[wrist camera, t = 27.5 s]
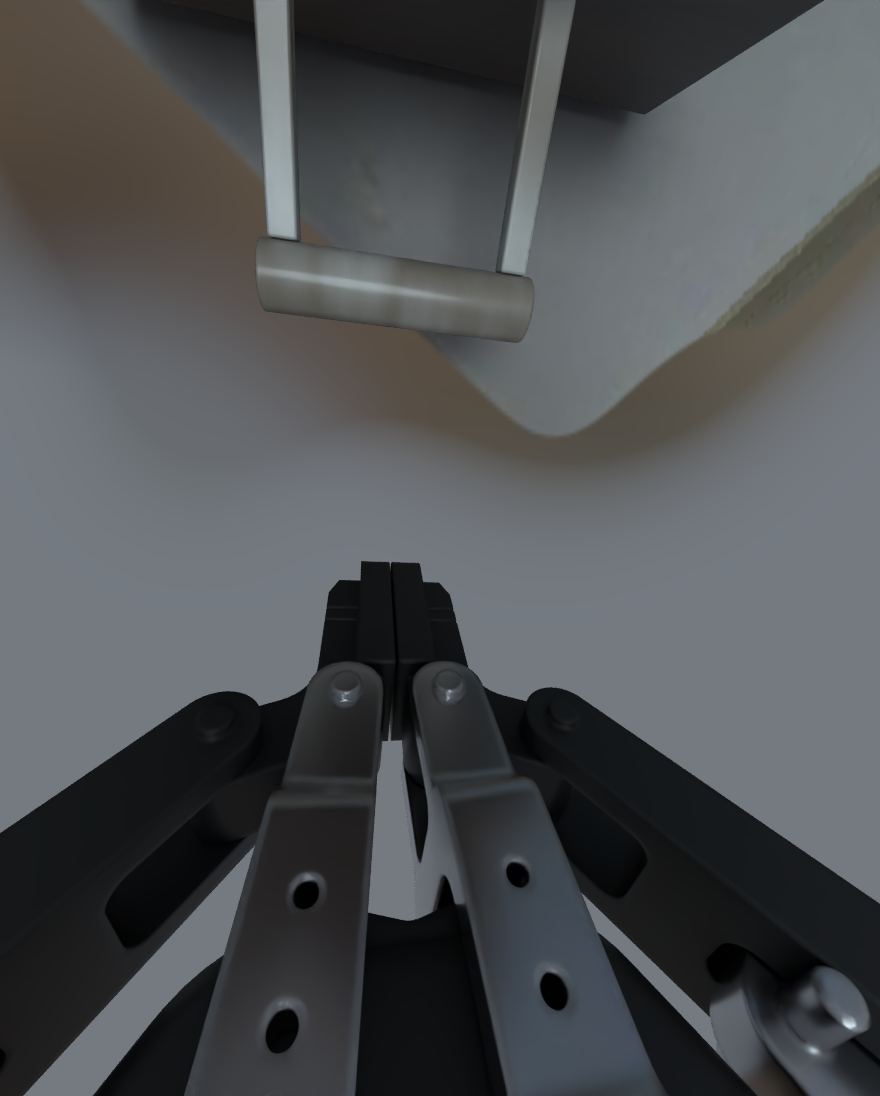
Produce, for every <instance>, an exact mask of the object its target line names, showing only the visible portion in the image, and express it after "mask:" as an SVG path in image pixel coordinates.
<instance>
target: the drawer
mask: <svg viewBox="0 0 880 1096" xmlns="http://www.w3.org/2000/svg"><path fill="white" fill-rule="evenodd" d="M160 1H164V2H168V3H173V4H177V5H181V6H185V7H190V8H194V9H198V10H202V11H207V12H211V13H215V14H219V15H224V16H228V17H232V18H236V19H241V20H245V21H249V22H253V23H254V24H255V41H256V57H257V74H258V90H259V107H260V123H261V140H262V156H263V173H264V189H265V205H266V222H267V233H268V236H270V237H272V238H269V237H263V236H261V237H259V238H258V240H257V244H256V251H255V273H256V283H257V290H258V295H259V299H260V303H261V305H262V308H263V309H264V310H265V311H267V312H275V313H283V314H291V315H299V316H307V317H315V318H323V319H331V320H339V321H347V322H355V323H362V324H370V325H378V326H386V327H394V328H402V329H410V330H418V331H426V332H434V333H442V334H450V335H458V336H466V337H474V338H482V339H490V340H498V341H506V342H514V343H518V342H520V341H521V340H522V339H523V337H524V336H525V334H526V331H527V329H528V326H529V323H530V320H531V316H532V311H533V304H534V285H533V281H532V279H530V278H529V277H522V276H523V275H525V273H526V268H527V263H528V257H529V252H530V246H531V241H532V236H533V230H534V225H535V219H536V214H537V209H538V203H539V198H540V192H541V187H542V182H543V176H544V171H545V165H546V160H547V155H548V149H549V144H550V138H551V133H552V128H553V122H554V117H555V111H556V106H557V100H558V95H563V96H568V97H572V98H576V99H580V100H585V101H589V102H593V103H597V104H602V105H606V106H610V107H614V108H619V109H623V110H627V111H631V112H636V113H640V114H647V113H648V112H650V111H651V110H653V109H654V108H656V107H657V106H659V105H661V104H662V103H664V102H665V101H667V100H668V99H670V98H672V97H673V96H675V95H676V94H678V93H679V92H681V91H683V90H684V89H686V88H687V87H689V86H690V85H692V84H694V83H695V82H697V81H698V80H700V79H701V78H703V77H705V76H706V75H708V74H709V73H711V72H712V71H714V70H716V69H717V68H719V67H720V66H722V65H723V64H725V63H727V62H728V61H730V60H731V59H733V58H734V57H736V56H738V55H739V54H741V53H742V52H744V51H745V50H747V49H748V48H750V47H752V46H753V45H755V44H756V43H758V42H759V41H761V40H763V39H764V38H766V37H767V36H769V35H770V34H772V33H774V32H775V31H777V30H778V29H780V28H781V27H783V26H785V25H786V24H788V23H789V22H791V21H792V20H794V19H796V18H797V17H799V16H800V15H802V14H803V13H805V12H807V11H808V10H810V9H811V8H813V7H814V6H816V5H818V4H819V3H821V2H822V1H824V0H160ZM294 32H296V33H300V34H304V35H309V36H313V37H317V38H321V39H326V40H330V41H334V42H338V43H343V44H347V45H351V46H355V47H360V48H364V49H368V50H372V51H377V52H381V53H385V54H389V55H394V56H398V57H402V58H406V59H410V60H415V61H419V62H423V63H427V64H432V65H436V66H440V67H444V68H449V69H453V70H457V71H461V72H466V73H470V74H474V75H478V76H483V77H487V78H491V79H495V80H500V81H504V82H508V83H512V84H517V85H521V86H524V90H523V97H522V103H521V110H520V116H519V122H518V129H517V135H516V142H515V148H514V155H513V161H512V167H511V174H510V180H509V187H508V193H507V199H506V206H505V212H504V219H503V225H502V232H501V238H500V244H499V251H498V257H497V264H496V272H490V271H484V270H477V269H471V268H464V267H458V266H451V265H445V264H438V263H432V262H425V261H419V260H412V259H406V258H399V257H393V256H386V255H380V254H373V253H367V252H360V251H354V250H347V249H341V248H334V247H328V246H321V245H315V244H308V243H302V242H300V240H301V236H300V201H299V168H298V134H297V100H296V67H295V33H294Z"/></svg>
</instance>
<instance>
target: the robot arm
mask: <svg viewBox="0 0 880 1096" xmlns="http://www.w3.org/2000/svg"><path fill="white" fill-rule="evenodd" d="M389 724H390V728H391V729H390V730H391V740H392V741H393V740H402V746H403V763H402V771H401V778H402V785H403V793H404V800H405V807H406V814H407V822H408V829H409V836H410V843H411V850H412V858H413V865H414V875H415V909H416V919H415V920H411V921H404V920H399V919H395V918H390V917H386V916H381V915H376V914H372V913H368V902H369V889H370V874H371V860H372V847H373V832H374V817H375V804H376V785H377V773H378V771H379V768H380V760H381V750H382V741H388V734H389ZM254 846H255V847H254ZM253 847H254V851H253V855H252V858H251V862H250V865H249V869H248V872H247V876H246V879H245V883H244V886H243V890H242V893H241V897H240V900H239V904H238V907H237V911H236V914H235V918H234V921H233V925H232V928H231V932H230V935H229V939H228V942H227V946H226V950H225V953H224V955H223V956H222V957H220V958H219V959H217V960H216V961H215V962H213V963H212V964H210V965H209V966H208V967H206V968H205V969H204V970H203V971H201V972H200V973H199V974H198V975H197V976H196V977H195V978H193V979H192V980H191V981H190V982H189V983H188V984H187V985H185V986H184V987H183V988H182V989H181V990H180V991H179V992H178V994H177V995H176V996H175V997H174V998H173V999H172V1000H171V1001H170V1002H169V1003H168V1004H167V1005H166V1006H165V1007H164V1008H163V1009H162V1011H161V1012H160V1013H159V1014H158V1015H157V1017H156V1018H155V1019H154V1020H153V1021H152V1022H151V1024H150V1025H149V1026H148V1028H147V1029H146V1030H145V1031H144V1032H143V1034H142V1035H141V1036H140V1038H139V1039H138V1040H137V1041H136V1042H135V1044H134V1045H133V1046H132V1047H131V1049H130V1050H129V1051H128V1052H127V1054H126V1055H125V1056H124V1057H123V1059H122V1060H121V1061H120V1062H119V1064H118V1065H117V1066H116V1067H115V1069H114V1070H113V1071H112V1072H111V1074H110V1075H109V1076H108V1078H107V1079H106V1080H105V1081H104V1082H103V1084H102V1085H101V1086H100V1087H99V1089H98V1090H97V1091H96V1093H95V1094H94V1095H93V1096H880V904H879V903H878V902H876V901H875V900H873V899H872V898H870V897H869V896H868V895H866V894H865V893H863V892H862V891H860V890H859V889H858V888H856V887H854V886H853V885H852V884H850V883H849V882H847V881H846V880H844V879H843V878H842V877H840V876H838V875H837V874H836V873H834V872H833V871H831V870H830V869H829V868H827V867H825V866H824V865H823V864H821V863H820V862H818V861H817V860H815V859H814V858H813V857H811V856H810V855H808V854H807V853H805V852H804V851H802V850H801V849H799V848H798V847H796V846H795V845H794V844H792V843H791V842H789V841H788V840H786V839H785V838H783V837H782V836H780V835H779V834H778V833H776V832H775V831H773V830H772V829H770V828H769V827H768V826H766V825H765V824H763V823H762V822H760V821H759V820H757V819H756V818H754V817H753V816H752V815H750V814H749V813H747V812H746V811H744V810H743V809H741V808H740V807H739V806H737V805H736V804H734V803H733V802H731V801H730V800H728V799H727V798H725V797H724V796H722V795H721V794H720V793H718V792H717V791H715V790H714V789H712V788H711V787H710V786H708V785H707V784H705V783H703V782H702V781H701V780H699V779H698V778H696V777H695V776H694V775H692V774H691V773H689V772H688V771H686V770H685V769H683V768H682V767H680V766H679V765H677V764H676V763H674V762H673V761H672V760H670V759H669V758H667V757H666V756H665V755H663V754H662V753H660V752H659V751H657V750H656V749H654V748H653V747H651V746H650V745H648V744H647V743H646V742H644V741H643V740H641V739H640V738H638V737H637V736H636V735H634V734H633V733H631V732H630V731H628V730H627V729H625V728H624V727H622V726H621V725H619V724H618V723H617V722H615V721H614V720H612V719H611V718H609V717H608V716H606V715H605V714H604V713H602V712H601V711H599V710H598V709H596V708H595V707H593V706H592V705H591V704H589V703H588V702H586V701H585V700H583V699H582V698H580V697H579V696H577V695H575V694H574V693H571V692H569V691H567V690H563V689H559V688H552V687H550V688H542V689H539V690H537V691H535V692H533V693H532V694H531V695H530V696H529V698H528V700H527V701H523V700H519V699H515V698H511V697H507V696H503V695H500V694H497V693H495V692H492V691H490V690H489V689H487V688H485V687H484V686H483V685H482V683H481V681H480V679H479V678H478V676H477V675H476V674H475V673H474V672H473V671H472V670H470V669H469V668H468V665H467V661H466V657H465V653H464V649H463V645H462V641H461V637H460V633H459V629H458V625H457V623H456V617H455V613H454V611H453V605H452V601H451V598H450V595H449V593H448V592H447V591H446V590H445V589H444V588H443V587H442V586H441V584H440V583H433V582H431V583H430V582H423V580H422V574H421V568H420V564H419V563H400V562H392V563H391V569H390V563H389V562H367V561H362V562H361V580H360V581H353V580H339V581H338V582H337V583H336V585H335V586H334V587H333V588H332V589H331V591H330V592H329V595H328V602H327V609H326V616H325V622H324V629H323V637H322V644H321V650H320V657H319V664H318V669H317V672H316V674H315V675H314V676H313V677H312V679H311V680H310V682H309V684H308V685H307V686H306V687H305V688H304V689H302V690H301V691H300V692H298V693H296V694H295V695H292V696H290V697H288V698H285V699H282V700H279V701H276V702H272V703H268V704H265V705H262V706H259V705H258V704H257V702H256V701H255V700H254V699H253V698H251V697H250V696H248V695H246V694H242V693H239V692H229V691H225V692H218V693H213V694H209V695H206V696H203V697H201V698H199V699H197V700H195V701H194V702H192V703H190V704H189V705H187V706H186V707H184V708H183V709H181V710H180V711H178V712H177V713H175V714H174V715H172V716H171V717H170V718H168V719H167V720H165V721H164V722H162V723H161V724H159V725H158V726H156V727H155V728H153V729H152V730H151V731H149V732H148V733H146V734H145V735H144V736H142V737H140V738H139V739H137V740H136V741H134V742H133V743H132V744H130V745H129V746H127V747H126V748H124V749H123V750H121V751H120V752H118V753H117V754H115V755H114V756H113V757H111V758H110V759H108V760H107V761H105V762H104V763H102V764H101V765H99V766H98V767H97V768H95V769H93V770H92V771H91V772H89V773H88V774H86V775H85V776H83V777H82V778H80V779H79V780H77V781H76V782H74V783H73V784H71V785H70V786H69V787H67V788H66V789H64V790H63V791H61V792H60V793H58V794H57V795H56V796H54V797H52V798H51V799H50V800H48V801H47V802H45V803H44V804H42V805H41V806H39V807H38V808H36V809H35V810H33V811H32V812H31V813H29V814H28V815H26V816H25V817H23V818H22V819H20V820H19V821H17V822H16V823H14V824H13V825H11V826H10V827H9V828H7V829H6V830H4V831H3V832H1V833H0V1096H23V1095H24V1094H25V1093H26V1092H27V1091H28V1090H29V1089H30V1088H31V1087H32V1085H33V1084H34V1083H35V1082H36V1081H37V1080H38V1079H39V1078H40V1077H41V1076H42V1075H43V1074H44V1072H46V1070H47V1069H48V1068H49V1067H50V1066H51V1065H52V1064H53V1063H54V1062H55V1061H56V1059H58V1057H59V1056H60V1055H61V1054H62V1053H63V1052H64V1051H65V1050H66V1049H67V1048H68V1047H69V1045H70V1044H71V1043H72V1042H73V1041H74V1040H75V1039H76V1038H77V1037H78V1036H79V1034H81V1033H82V1031H83V1030H84V1029H85V1028H86V1027H87V1026H88V1025H89V1024H90V1023H91V1022H92V1020H94V1018H95V1017H96V1016H97V1015H98V1014H99V1013H100V1012H101V1011H102V1010H103V1009H104V1008H105V1007H106V1005H107V1004H108V1003H109V1002H110V1001H111V1000H112V999H113V998H114V997H115V996H116V995H117V994H118V992H119V991H120V990H121V989H122V988H123V987H124V986H125V985H126V984H127V983H128V982H129V981H130V980H131V978H132V977H133V976H134V975H135V974H136V973H137V972H138V971H139V970H140V969H141V968H142V967H143V966H144V964H145V963H146V962H147V961H148V960H149V959H150V958H151V957H152V956H153V955H154V954H155V953H156V951H157V950H158V949H159V948H160V947H161V946H162V945H163V944H164V943H165V942H166V941H167V939H169V937H170V936H171V935H172V934H173V933H174V932H175V931H176V930H177V929H178V928H179V927H180V925H181V924H182V923H183V922H184V921H185V920H186V919H187V918H188V917H189V916H190V915H191V914H192V913H193V911H194V910H195V909H196V908H197V907H198V906H199V905H200V904H201V903H202V902H203V901H204V899H205V898H206V897H207V896H208V895H209V894H210V893H211V892H212V891H213V890H214V889H215V888H216V887H217V886H218V884H219V883H220V882H221V881H222V880H223V879H224V878H225V877H226V876H227V875H228V874H229V873H230V871H231V870H232V869H233V868H234V867H235V866H236V865H237V864H238V863H239V862H240V861H241V860H242V858H243V857H244V856H245V855H246V854H247V853H248V852H249V851H250V850H251V849H252V848H253ZM581 893H582V894H584V895H585V896H586V897H587V898H588V899H589V900H590V901H591V902H592V903H593V904H594V905H595V906H596V907H597V908H598V909H599V910H600V911H601V912H602V913H603V914H604V915H605V916H606V917H607V918H608V919H609V920H610V921H611V922H612V923H613V924H615V926H617V927H618V928H619V929H620V930H621V931H622V932H623V933H624V934H625V935H626V936H627V937H628V938H629V939H630V940H631V941H632V942H633V943H634V944H635V945H636V946H637V947H638V948H639V949H640V950H642V952H643V953H644V954H645V955H646V956H647V957H648V958H650V959H651V960H652V961H653V962H654V963H655V964H656V965H657V966H658V967H659V968H660V969H661V970H662V971H663V972H664V973H665V974H666V975H667V976H668V977H669V978H670V979H671V980H672V981H673V982H674V983H675V984H676V985H677V986H678V987H679V988H680V989H681V990H683V992H685V993H686V994H687V995H688V996H689V997H690V998H691V999H692V1000H693V1001H694V1002H695V1003H696V1004H697V1005H698V1006H699V1007H700V1008H701V1009H702V1010H703V1011H704V1012H705V1013H706V1014H707V1015H708V1016H709V1017H710V1018H711V1024H712V1028H713V1032H714V1036H715V1039H716V1041H717V1043H716V1049H717V1052H716V1051H715V1050H714V1049H713V1048H712V1047H711V1046H710V1045H709V1044H708V1043H707V1042H706V1041H705V1040H704V1039H703V1038H702V1037H701V1036H700V1034H698V1033H697V1031H696V1030H695V1029H694V1028H693V1027H692V1026H691V1025H690V1024H689V1023H688V1022H687V1021H686V1020H685V1019H684V1018H683V1017H682V1016H681V1014H680V1013H679V1012H678V1011H677V1010H676V1009H675V1008H674V1007H673V1006H672V1005H671V1004H670V1003H669V1002H668V1001H667V1000H666V999H665V998H664V997H663V996H662V995H661V993H660V992H659V991H658V990H657V989H656V988H655V987H654V986H653V985H652V984H651V983H650V982H649V981H648V980H647V979H646V978H645V977H644V976H643V975H642V973H641V972H640V971H639V970H638V969H637V968H636V967H635V966H634V965H633V964H632V963H631V962H630V961H629V960H628V959H627V958H626V957H625V956H624V955H623V954H622V953H621V952H620V951H619V950H618V949H617V948H616V947H615V946H614V945H613V944H611V943H610V942H609V941H608V940H607V939H605V938H604V937H603V936H602V935H601V934H599V933H598V932H597V930H596V928H595V926H594V923H593V921H592V918H591V916H590V913H589V911H588V908H587V906H586V904H585V901H584V898H583V896H582V894H581Z"/></svg>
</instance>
